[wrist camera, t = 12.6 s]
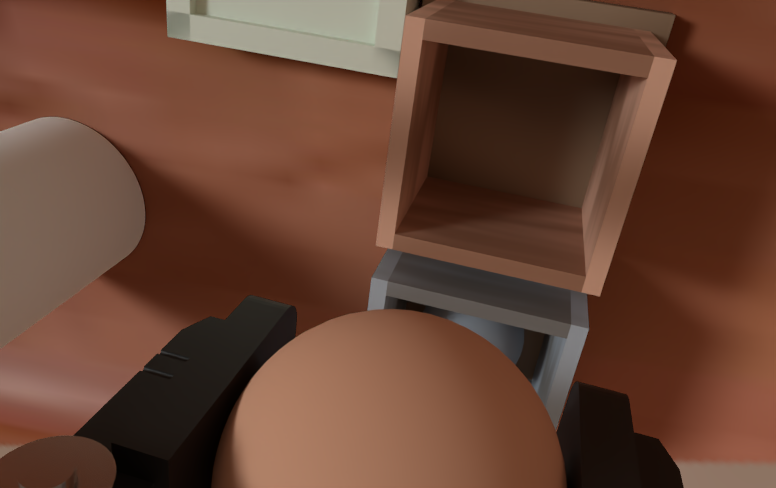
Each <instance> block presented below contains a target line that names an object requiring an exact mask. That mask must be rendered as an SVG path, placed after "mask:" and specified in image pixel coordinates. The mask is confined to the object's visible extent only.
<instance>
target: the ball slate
mask: <svg viewBox="0 0 776 488" xmlns="http://www.w3.org/2000/svg"><path fill="white" fill-rule="evenodd" d="M423 313H427V314H432V315H435V316H438V317H441V318H444V319H448V320H450V321H452V322H455V323H457V324H459V325H461V326H464V327H466V328H468V329H470V330H471V331H473V332H475V333H476V334H478V335H480V336H482V337H483V338H485V339H486V340H487V341H489V342H490V343H491V344H493V345H494V346H495V347H497V348H498V349H499V350H500V351H501V352H502V353H503V354H504V355H506V356H507V357H508V358H509V359H510V360H511V361H512V362H513V363H514V364H515V365H516V363H517V361H518V359H519V357H520V355H521V352H522V349H523V344H524V328H520V327H515V326H511V325H507V324H503V323H499V322H495V321H490V320H486V319H482V318H478V317H474V316H470V315H465V314H461V313H457V312H453V311H449V310H445V309H440V308H436V307H432V306H428V305H426V307H425V309H424V311H423Z"/></svg>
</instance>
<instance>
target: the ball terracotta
mask: <svg viewBox="0 0 776 488" xmlns="http://www.w3.org/2000/svg"><path fill="white" fill-rule="evenodd" d="M211 488H567V481H566V470H565V462H564V458H563V455H562V451H561V447H560V444H559V440H558V437H557V433H556V430H555V427H554V425H553V423H552V421H551V418H550V416H549V414H548V412H547V410H546V408H545V406H544V404H543V402H542V401H541V399H540V397H539V396H538V394H537V392H536V391H535V389H534V388H533V386H532V384H531V383H530V382H529V381H528V379H527V378H526V377H525V376H524V375H523V373H522V372H521V371H520V370H519V368H518V367H517V366H516V365H515V364H514V363H513V362H512V361H511V360H510V359H509V358H508V357H507V356H506V355H504V354H503V353H502V352H501V351H500V350H499V349H498V348H497V347H495V346H494V345H493V344H491V343H490V342H489V341H487V340H486V339H485V338H483V337H482V336H480V335H478V334H476V333H475V332H473V331H471V330H470V329H468V328H466V327H464V326H461V325H459V324H457V323H455V322H452V321H450V320H448V319H444V318H441V317H438V316H435V315H432V314H427V313H422V312H417V311H412V310H401V309H377V310H369V311H363V312H357V313H351V314H347V315H343V316H340V317H337V318H334V319H331V320H329V321H326V322H324V323H322V324H320V325H318V326H316V327H314V328H311V329H309V330H307V331H305V332H303V333H302V334H300V335H299V336H297V337H296V338H294V339H293V340H291V341H290V342H289V343H287V344H286V345H285V346H283V347H282V348H281V349H279V350H278V351H277V352H276V353H275V354H274V355H273V356H272V357H271V358H270V359H269V360H267V361H266V362H265V363H264V365H263V366H262V367H261V368H260V369H259V370H258V371H257V373H256V374H255V375H254V376H253V377H252V379H251V380H250V381H249V383H248V384H247V385H246V387H245V388H244V390H243V391H242V393H241V395H240V396H239V398H238V400H237V401H236V403H235V405H234V407H233V409H232V411H231V413H230V415H229V417H228V419H227V422H226V424H225V427H224V429H223V432H222V434H221V438H220V441H219V445H218V448H217V452H216V457H215V461H214V466H213V473H212V482H211Z"/></svg>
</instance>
